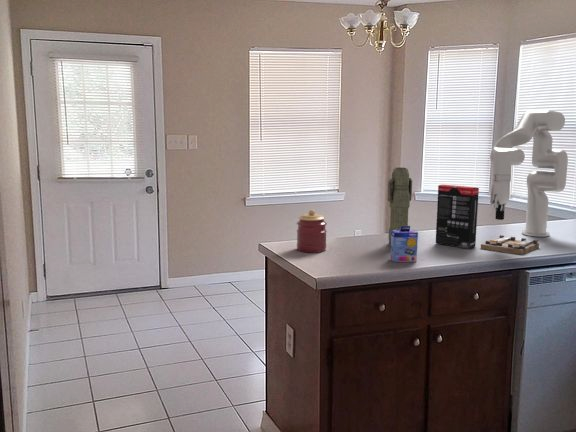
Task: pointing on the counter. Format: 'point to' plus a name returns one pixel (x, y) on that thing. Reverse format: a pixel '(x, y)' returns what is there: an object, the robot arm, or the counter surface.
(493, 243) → the strap
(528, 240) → the strap
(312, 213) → the canister
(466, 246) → the graphics card box
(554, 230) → the counter surface
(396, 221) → the green statue
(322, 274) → the counter surface
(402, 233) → the ink cartridge box
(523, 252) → the latch board
